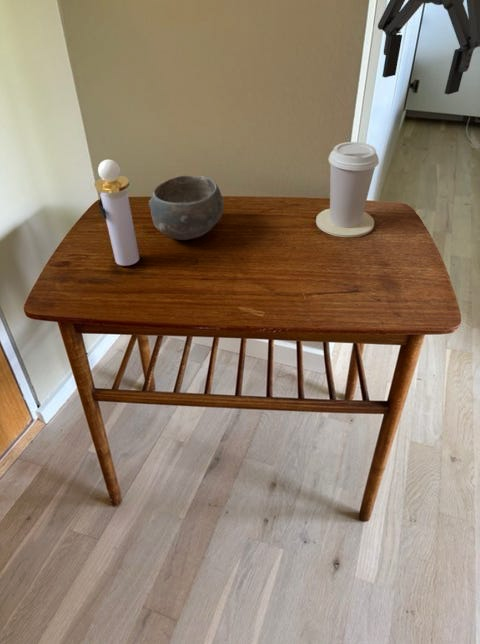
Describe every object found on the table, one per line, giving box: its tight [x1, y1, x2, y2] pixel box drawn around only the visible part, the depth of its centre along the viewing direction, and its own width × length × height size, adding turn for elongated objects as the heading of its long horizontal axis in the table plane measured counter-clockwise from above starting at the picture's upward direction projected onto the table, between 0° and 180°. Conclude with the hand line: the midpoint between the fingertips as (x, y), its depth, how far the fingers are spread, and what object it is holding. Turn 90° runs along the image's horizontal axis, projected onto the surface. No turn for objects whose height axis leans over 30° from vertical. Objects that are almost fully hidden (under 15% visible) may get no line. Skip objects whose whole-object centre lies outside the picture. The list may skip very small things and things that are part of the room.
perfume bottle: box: [93, 158, 140, 267], centre depth 86 cm, size 6×6×20 cm
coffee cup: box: [327, 141, 380, 228], centre depth 97 cm, size 10×10×15 cm
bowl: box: [148, 174, 225, 241], centre depth 97 cm, size 14×15×10 cm
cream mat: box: [315, 207, 375, 239], centre depth 102 cm, size 12×12×1 cm
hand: (418, 84), depth 85 cm, fingers open, 13 cm apart
